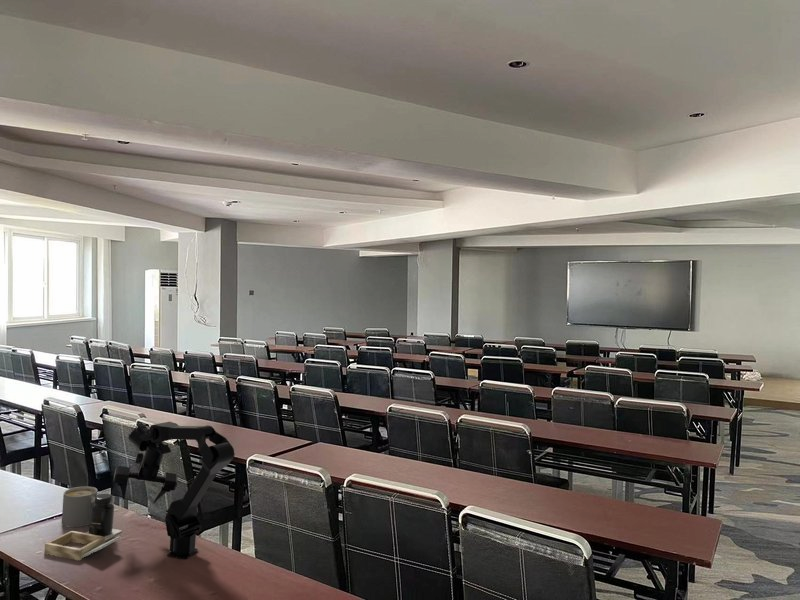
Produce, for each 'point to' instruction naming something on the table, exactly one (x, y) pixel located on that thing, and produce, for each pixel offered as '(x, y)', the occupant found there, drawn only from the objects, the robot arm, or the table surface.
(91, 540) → the frame
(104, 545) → the frame lid
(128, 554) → the table surface
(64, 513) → the coffee mug
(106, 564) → the table surface
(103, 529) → the supplement bottle
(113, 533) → the felt mat
